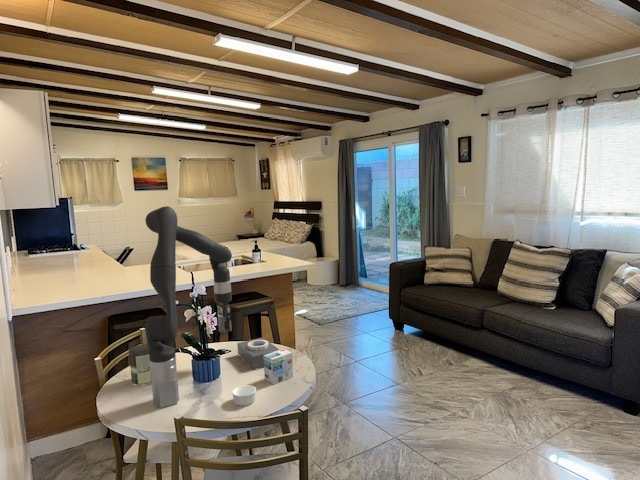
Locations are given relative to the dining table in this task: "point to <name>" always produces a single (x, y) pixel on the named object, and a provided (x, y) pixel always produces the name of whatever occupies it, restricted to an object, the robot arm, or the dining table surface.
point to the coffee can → (140, 365)
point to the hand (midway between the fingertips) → (225, 327)
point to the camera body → (255, 351)
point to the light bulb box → (278, 366)
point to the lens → (222, 324)
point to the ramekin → (244, 395)
